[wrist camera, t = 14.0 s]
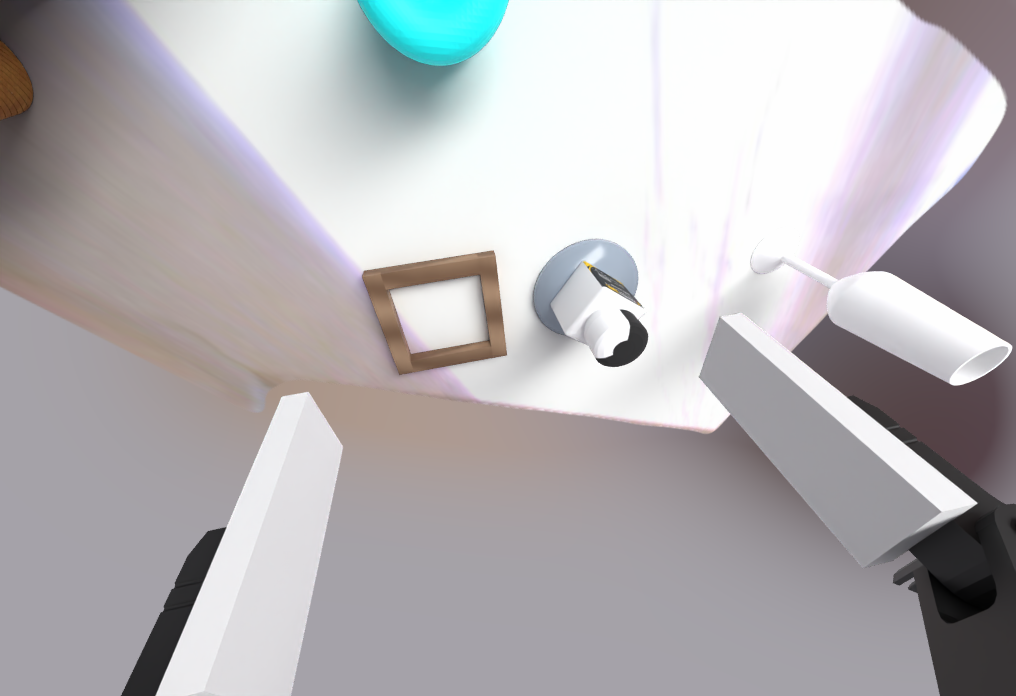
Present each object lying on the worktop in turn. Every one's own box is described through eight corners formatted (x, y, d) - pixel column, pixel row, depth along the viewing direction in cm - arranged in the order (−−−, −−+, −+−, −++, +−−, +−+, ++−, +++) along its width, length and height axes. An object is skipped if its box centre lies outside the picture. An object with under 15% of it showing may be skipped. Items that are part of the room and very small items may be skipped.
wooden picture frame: (364, 270, 41) (362, 276, 40) (493, 250, 43) (495, 255, 41) (400, 367, 51) (399, 374, 50) (505, 348, 52) (507, 355, 51)
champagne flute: (765, 281, 53) (948, 401, 34) (741, 260, 50) (927, 379, 31) (807, 242, 50) (1032, 351, 31) (784, 218, 47) (1018, 322, 28)
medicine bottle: (622, 282, 48) (669, 336, 38) (588, 323, 51) (624, 382, 42) (582, 258, 44) (623, 311, 35) (548, 303, 48) (578, 362, 38)
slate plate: (531, 248, 43) (532, 251, 43) (642, 230, 44) (645, 233, 44) (535, 340, 52) (536, 343, 51) (628, 323, 53) (630, 326, 53)
